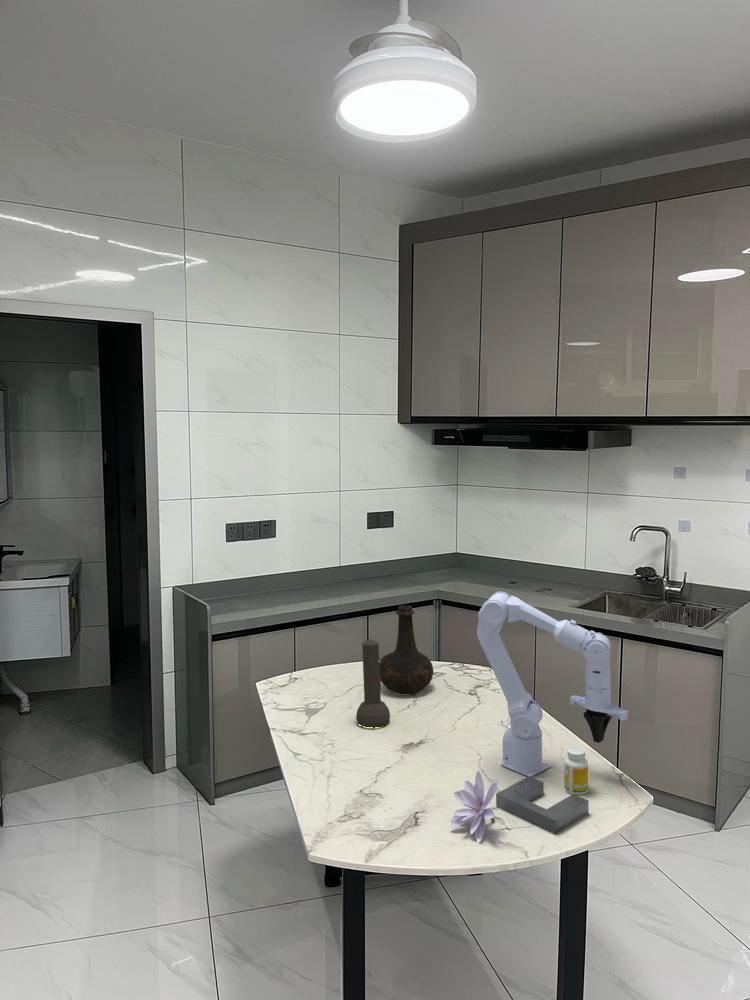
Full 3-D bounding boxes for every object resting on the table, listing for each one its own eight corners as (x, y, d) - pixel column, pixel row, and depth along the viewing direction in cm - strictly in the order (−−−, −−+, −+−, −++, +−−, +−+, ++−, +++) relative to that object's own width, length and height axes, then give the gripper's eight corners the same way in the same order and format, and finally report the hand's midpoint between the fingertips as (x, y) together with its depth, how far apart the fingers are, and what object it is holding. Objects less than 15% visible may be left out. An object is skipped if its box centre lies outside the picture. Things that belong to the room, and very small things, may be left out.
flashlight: (357, 730, 213) (391, 728, 214) (353, 645, 211) (388, 643, 211) (355, 717, 223) (388, 715, 223) (352, 635, 220) (385, 633, 221)
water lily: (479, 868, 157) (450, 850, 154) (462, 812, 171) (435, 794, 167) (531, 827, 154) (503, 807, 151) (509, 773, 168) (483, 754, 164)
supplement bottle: (560, 790, 175) (559, 751, 174) (571, 782, 178) (571, 743, 177) (581, 798, 171) (581, 757, 170) (592, 789, 175) (592, 749, 174)
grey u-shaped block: (496, 806, 169) (496, 793, 168) (529, 788, 176) (529, 776, 176) (555, 834, 156) (555, 820, 156) (588, 813, 164) (588, 800, 164)
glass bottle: (376, 682, 252) (373, 601, 249) (428, 678, 254) (426, 597, 251) (382, 702, 234) (379, 614, 232) (438, 697, 236) (436, 610, 233)
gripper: (634, 689, 175) (635, 744, 176) (581, 674, 186) (582, 727, 188) (618, 696, 171) (618, 754, 172) (564, 681, 182) (565, 735, 183)
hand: (598, 740), depth 179 cm, fingers closed
